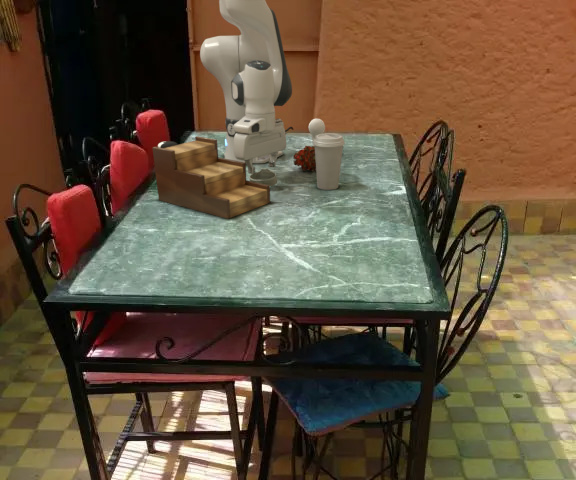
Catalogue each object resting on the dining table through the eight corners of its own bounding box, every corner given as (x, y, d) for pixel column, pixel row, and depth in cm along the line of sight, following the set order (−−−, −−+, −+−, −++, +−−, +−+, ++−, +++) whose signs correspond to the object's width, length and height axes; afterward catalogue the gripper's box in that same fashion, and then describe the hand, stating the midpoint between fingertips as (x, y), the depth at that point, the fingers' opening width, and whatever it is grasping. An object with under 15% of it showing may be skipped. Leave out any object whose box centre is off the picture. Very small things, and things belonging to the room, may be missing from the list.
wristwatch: (280, 184, 200) (280, 168, 197) (271, 190, 195) (271, 173, 192) (255, 181, 203) (254, 165, 201) (245, 186, 199) (244, 170, 196)
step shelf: (202, 186, 199) (198, 136, 191) (270, 202, 185) (268, 149, 176) (158, 200, 188) (152, 147, 180) (227, 218, 173) (224, 162, 165)
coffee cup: (345, 190, 194) (347, 139, 186) (314, 191, 193) (315, 140, 185) (340, 182, 202) (342, 132, 194) (310, 183, 201) (311, 133, 193)
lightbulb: (316, 147, 242) (316, 116, 236) (327, 149, 238) (328, 118, 232) (304, 149, 239) (305, 118, 232) (316, 152, 235) (316, 120, 229)
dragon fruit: (322, 178, 211) (295, 177, 218) (333, 159, 213) (306, 158, 220) (310, 160, 204) (283, 160, 212) (322, 139, 206) (294, 140, 214)
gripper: (275, 116, 197) (276, 162, 204) (229, 126, 184) (232, 175, 191) (290, 118, 194) (291, 165, 201) (245, 128, 180) (247, 178, 188)
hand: (262, 170), depth 196 cm, fingers open, 8 cm apart
